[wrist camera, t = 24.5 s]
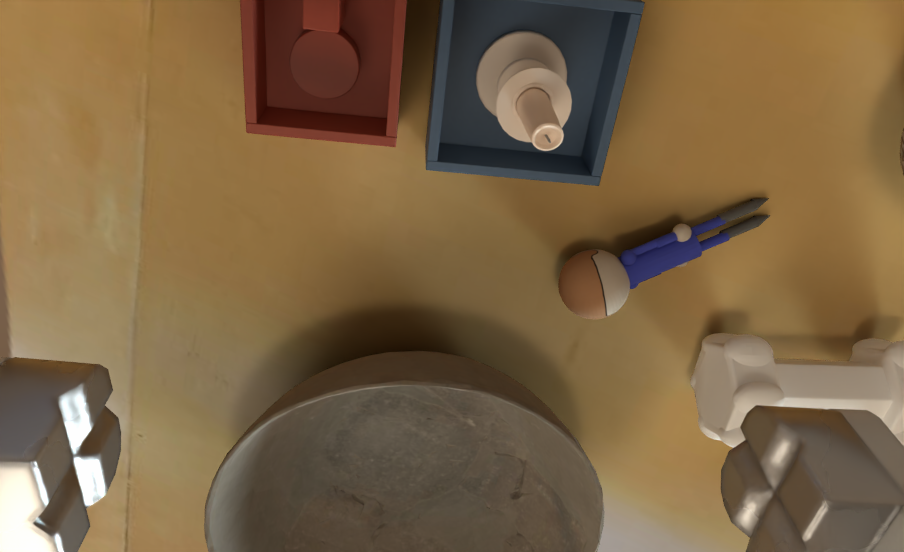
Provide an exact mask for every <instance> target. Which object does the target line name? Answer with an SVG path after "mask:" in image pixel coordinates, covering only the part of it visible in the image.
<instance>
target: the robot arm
mask: <svg viewBox="0 0 904 552" xmlns="http://www.w3.org/2000/svg"><path fill="white" fill-rule="evenodd" d="M112 391H113V388H112V384H111V380H110V376H109V372H108V369H107V368H105V367H103V366H102V365H100V364H88V363H77V362H65V361H53V360H41V359H29V358H17V357H14V358H7V357H0V552H78V550H79V548H80V546H81V544H82V542H83V540H84V538H85V536H86V534H87V532H88V530H89V528H90V523H89V519H88V515H87V511H86V508H87V507H89V506H90V505H92V504H93V503H95V502H96V501H97V500H99V499H100V498H102V497H103V496H105V495H106V493H107V491H108V489H109V487H110V484H111V482H112V480H113V478H114V476H115V473H116V468H117V464H118V460H119V456H120V452H121V430H120V424H119V419H118V417H117V416H116V415H115V414H114V413H113V412H111V411H110V410H109V409H108V408H107V407H106V406H105V404H106V402H107V400H108V398H109V397H110V395H111V393H112ZM740 428H741V430H742V433H743V435H744V437H745V440H744V441H743V442H742V443H740V444H739V445H737V446H736V447H734V448H733V449H731V450H730V451H729V452H728V455H727V457H726V460H725V462H724V465H723V467H722V469H721V493H722V498H723V502H724V506H725V509H726V511H727V513H728V515H729V517H730V520H731V522H732V523H733V524H734V525H735V526H737V527H738V528H739V529H740V530H741V531H742V532H744V533H745V534H746V535H747V536H748V537H750V540H749V543H748V546H747V550H746V552H904V446H903V445H902V444H901V443H900V441H899V440H898V439H897V438H896V436H895V435H894V434H893V433H892V432H891V430H890V429H889V428H888V427H887V426H886V424H885V423H884V422H883V421H882V420H881V418H880V417H878V416H877V415H875V414H873V413H872V412H870V411H868V410H854V409H828V410H827V409H817V408H799V407H781V406H763V405H756V406H755V407H753V408H752V409H751V410H750V411H749V412H747V414H746V416H745V418H744V420H743V422H742V424H741V426H740Z"/></svg>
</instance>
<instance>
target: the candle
mask: <svg viewBox="0 0 904 552" xmlns="http://www.w3.org/2000/svg"><path fill="white" fill-rule="evenodd" d="M566 81H567V68H566V63H565V59H564V57H563V55H562V53H561V51H560V49H559V48H558V47H557V46H556V45H555V43H554V42H553V41H552V40H551V39H549V38H548V37H546V36H544V35H543V34H541V33H538V32H534V31H530V30H516V31H513V32H510V33H506V34H504V35H502V36H501V37H499V38H497V39H496V40H494V41H493V42H492V43H491V44H490V45H489V46H488V47H487V48H486V49H485V51H484V53H483V55H482V56H481V58H480V60H479V63H478V67H477V70H476V86H477V90H478V94H479V97H480V99H481V101H482V102H483V104H484V106H485V107H486V108H487V109H488V110H489V111H490V112H491V113H492V114H493V115H494V116H496V117H497V118H498V121H499V123H500V125H501V126H502V128H503V130H504V131H505V132H507V133H508V134H509V135H510V136H511V137H513V138H515V139H517V140H520V141H524V142H532V143H533V145H534V146H535V147H536V148H537V149H539V150H543V151H549V150H553V149H555V148H557V147H558V146H559V145H560V144H561V143H562V141H563V137H564V134H563V130H562V127H563V126H564V124H565V123H566V121H567V120H568V117H569V114H570V112H571V104H572V99H571V93H570V90H569V88H568V86H567V84H566Z"/></svg>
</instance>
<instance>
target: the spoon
mask: <svg viewBox="0 0 904 552" xmlns="http://www.w3.org/2000/svg"><path fill="white" fill-rule="evenodd" d="M344 16H345V0H303V29H307V30H305V31H304V32H303V33H302V34H301V35H300V36H299V37H298V39H297V40H296V42H295V43H294V45H293V47H292V49H291V52H290V59H289V63H290V70H291V73H292V76H293V78H294V80H295V81H296V83H297V84H298V85H299V87H300V88H302V89H303V90H304V91H305V92H306V93H308V94H310V95H312V96H314V97H317V98H320V99H334V98H338V97H341V96H343V95H345V94H346V93H347V92H349V91H350V90H351V89H352V87H353V86H354V85H355V83H356V81H357V78H358V75H359V71H360V66H361V58H360V53H359V50H358V47H357V45H356V44H355V42H354V40H353V39H352V38H351V37H350V36H349V35H348V34H347V33H346V32H344V31H343V30H341V29H340V27H341V25H342V23H343V21H344Z"/></svg>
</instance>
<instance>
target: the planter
mask: <svg viewBox="0 0 904 552" xmlns="http://www.w3.org/2000/svg"><path fill="white" fill-rule="evenodd" d="M900 162H901V168H902V172H903V175H904V129H903V133H902V137H901V145H900Z"/></svg>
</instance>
